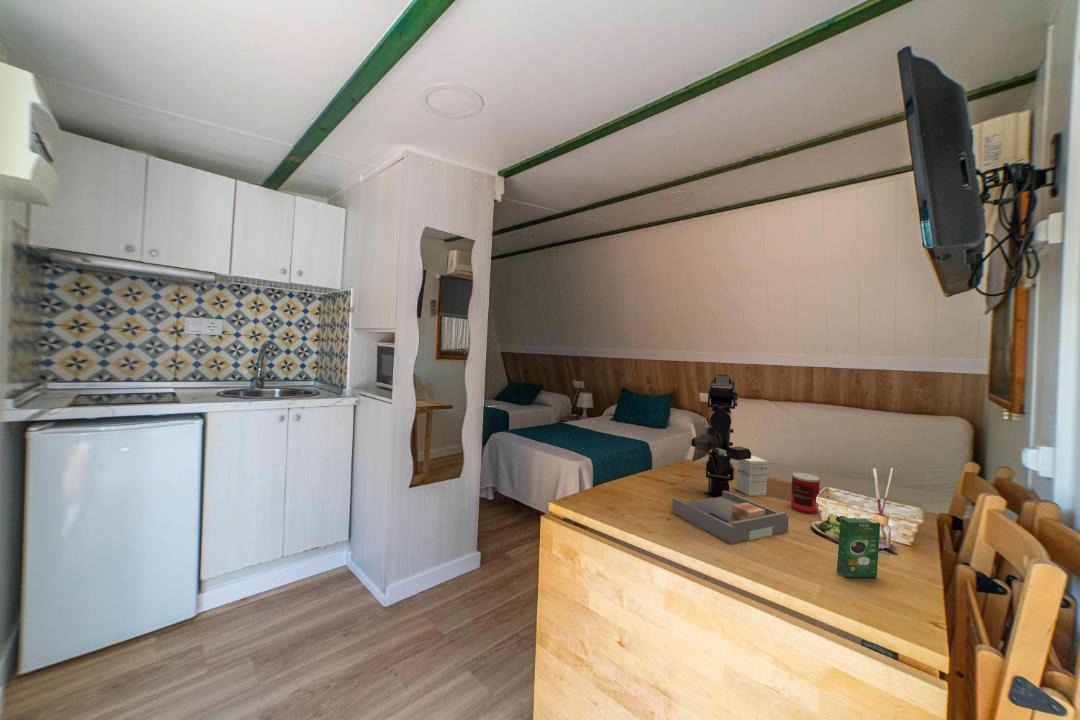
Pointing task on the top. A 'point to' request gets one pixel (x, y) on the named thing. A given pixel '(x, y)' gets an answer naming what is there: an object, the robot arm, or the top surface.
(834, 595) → the top surface
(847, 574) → the coffee box
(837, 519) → the salad plate
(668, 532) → the top surface
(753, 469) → the supplement box
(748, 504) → the block
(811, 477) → the canned food
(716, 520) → the box
